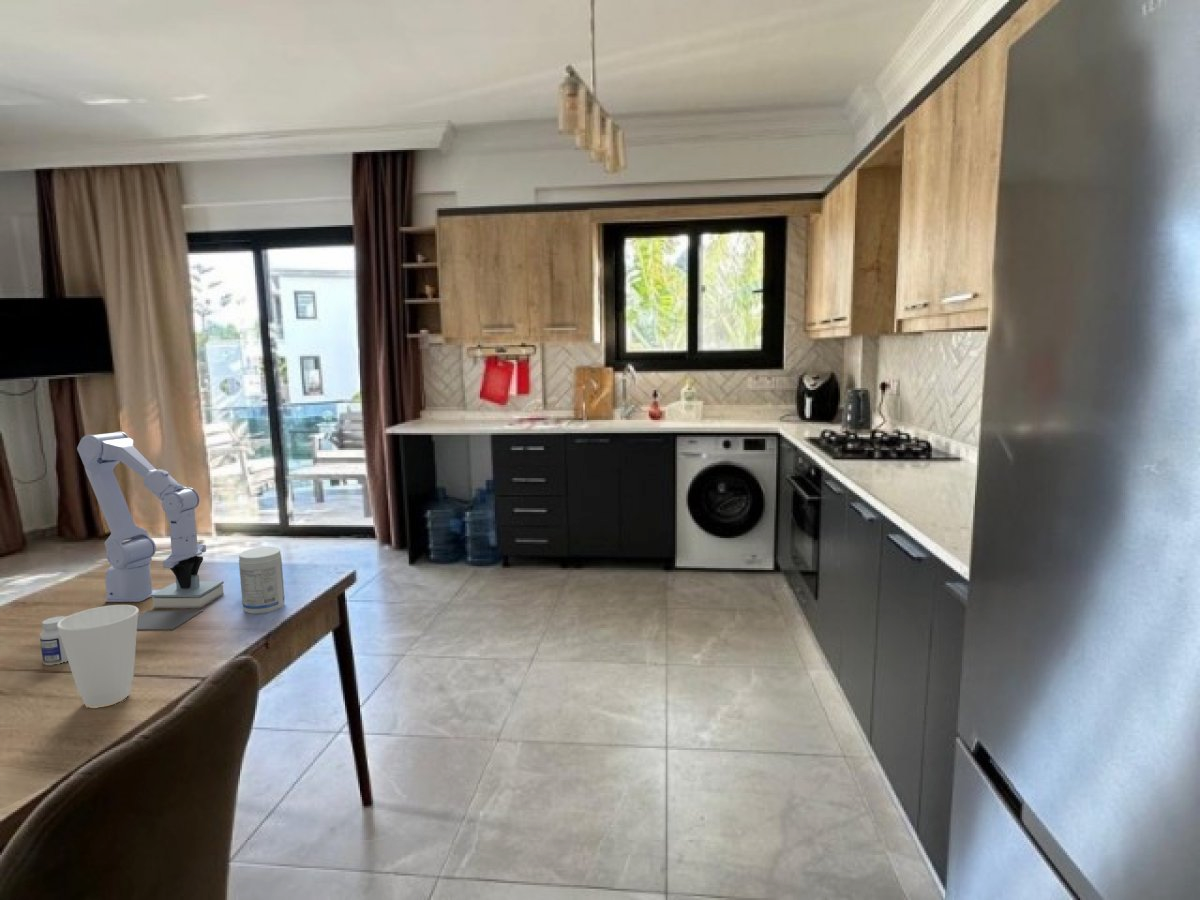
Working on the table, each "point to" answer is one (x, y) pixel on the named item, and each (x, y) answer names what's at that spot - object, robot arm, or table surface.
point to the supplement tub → (261, 580)
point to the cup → (101, 651)
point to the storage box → (187, 600)
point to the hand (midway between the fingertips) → (188, 586)
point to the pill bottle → (52, 642)
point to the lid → (195, 589)
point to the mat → (164, 619)
